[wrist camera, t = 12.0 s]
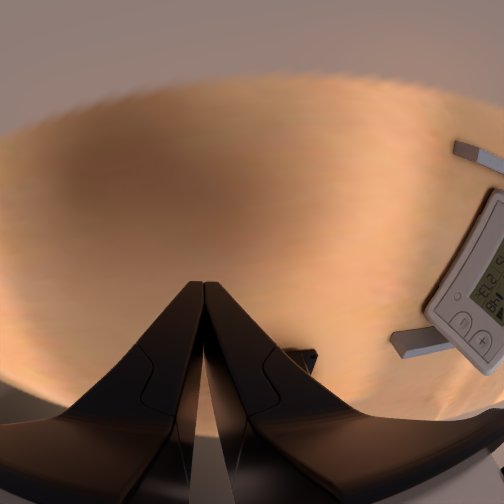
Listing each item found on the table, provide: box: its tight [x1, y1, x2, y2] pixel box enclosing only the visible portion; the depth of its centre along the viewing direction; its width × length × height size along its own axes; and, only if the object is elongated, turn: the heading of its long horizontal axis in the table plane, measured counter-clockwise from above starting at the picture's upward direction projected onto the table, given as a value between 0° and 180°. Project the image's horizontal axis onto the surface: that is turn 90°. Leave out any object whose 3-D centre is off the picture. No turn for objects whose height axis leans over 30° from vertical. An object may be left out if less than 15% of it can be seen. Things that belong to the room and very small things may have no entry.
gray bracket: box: [390, 141, 504, 359], centre depth 24 cm, size 21×18×5 cm
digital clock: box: [424, 189, 504, 376], centre depth 21 cm, size 16×9×11 cm, turn 144°
